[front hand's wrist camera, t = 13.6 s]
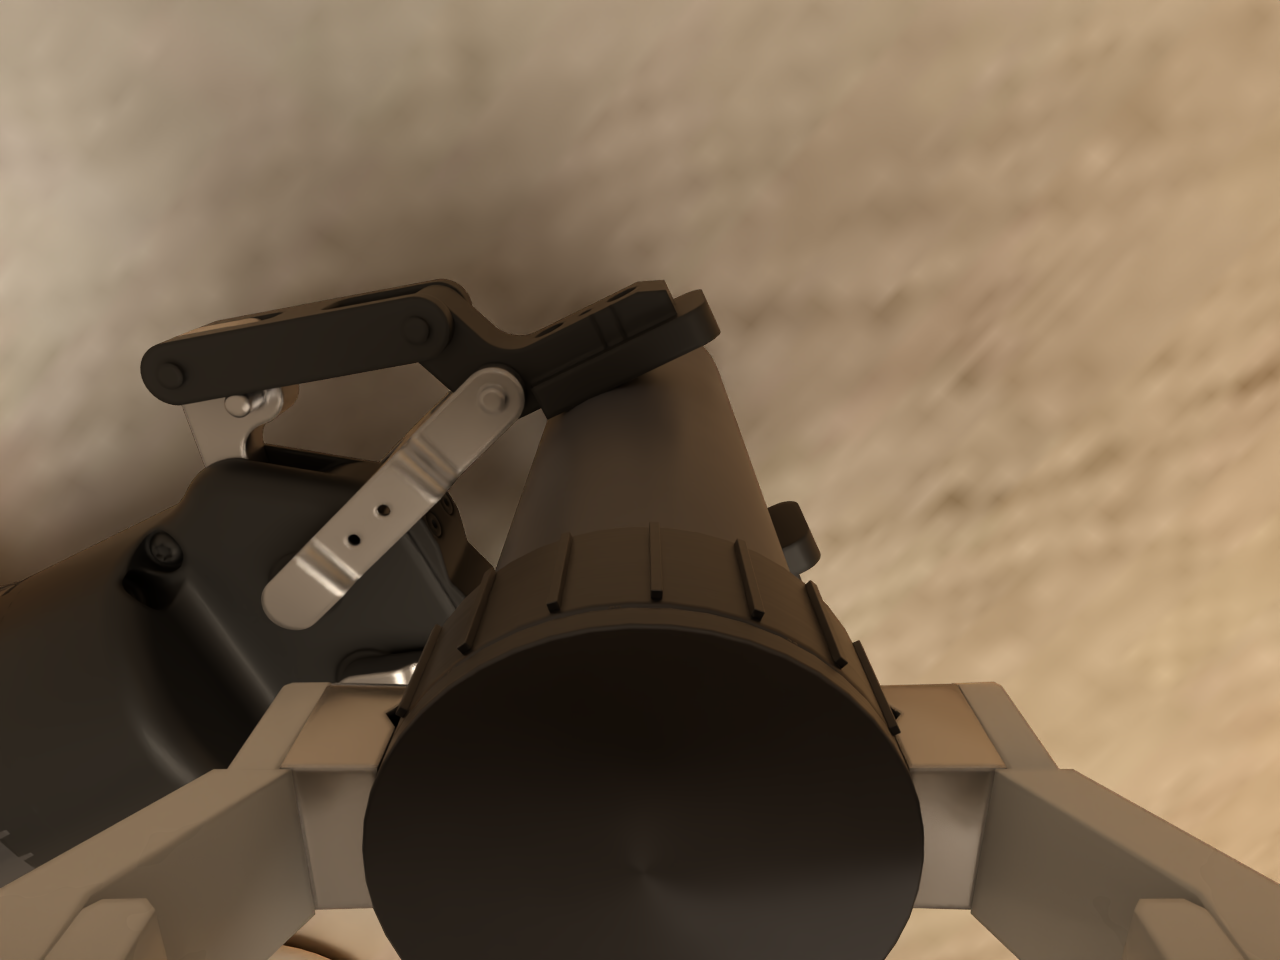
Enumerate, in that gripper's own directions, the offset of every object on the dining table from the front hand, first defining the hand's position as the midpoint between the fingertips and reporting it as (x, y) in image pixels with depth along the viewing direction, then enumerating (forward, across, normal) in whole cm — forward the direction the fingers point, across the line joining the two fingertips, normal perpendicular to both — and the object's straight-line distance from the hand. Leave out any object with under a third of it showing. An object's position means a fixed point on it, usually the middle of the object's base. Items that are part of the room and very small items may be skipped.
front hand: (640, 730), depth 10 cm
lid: (-2, 0, 0) cm, 2 cm away
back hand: (+9, -2, -1) cm, 9 cm away
